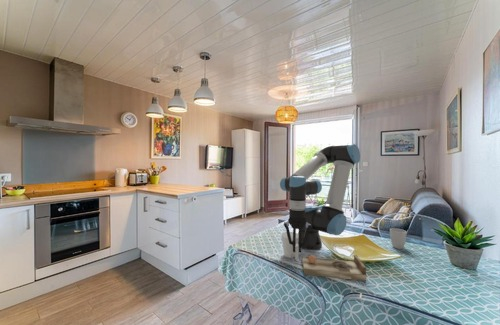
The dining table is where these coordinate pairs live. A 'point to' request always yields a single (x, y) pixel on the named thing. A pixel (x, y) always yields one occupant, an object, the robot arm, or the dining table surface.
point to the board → (336, 268)
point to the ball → (312, 259)
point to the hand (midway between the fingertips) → (296, 259)
